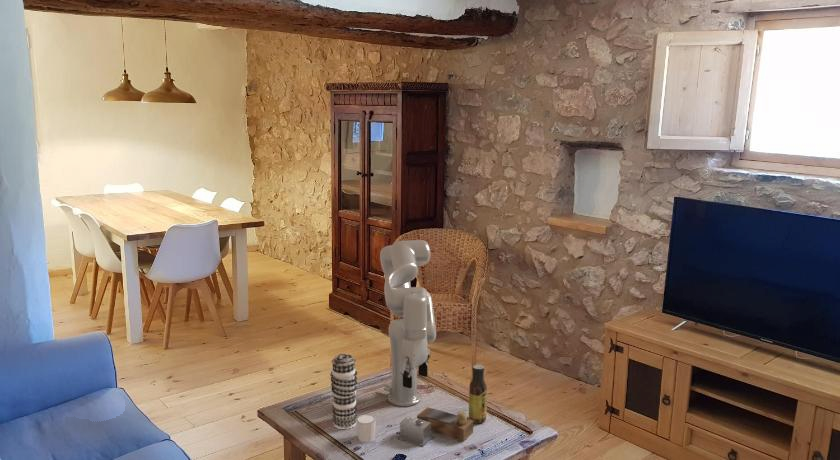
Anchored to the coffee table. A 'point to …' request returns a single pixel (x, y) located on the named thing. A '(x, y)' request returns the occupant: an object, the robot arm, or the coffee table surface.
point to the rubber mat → (414, 440)
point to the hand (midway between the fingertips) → (415, 381)
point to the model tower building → (344, 391)
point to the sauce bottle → (478, 396)
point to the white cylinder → (366, 427)
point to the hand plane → (448, 423)
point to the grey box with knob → (415, 429)
